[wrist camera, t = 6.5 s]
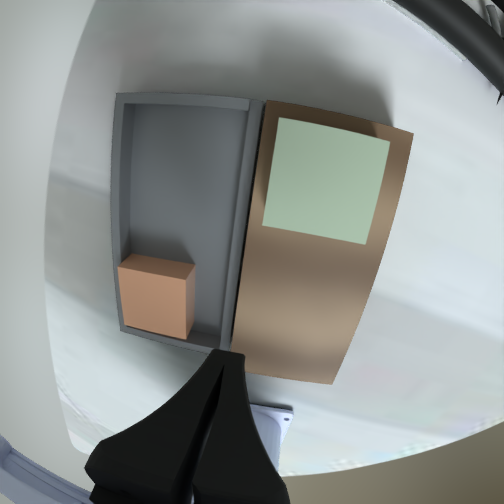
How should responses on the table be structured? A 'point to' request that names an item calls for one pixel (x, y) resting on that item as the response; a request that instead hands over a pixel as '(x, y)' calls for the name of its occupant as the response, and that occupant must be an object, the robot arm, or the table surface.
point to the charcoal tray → (186, 197)
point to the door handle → (462, 32)
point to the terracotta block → (157, 294)
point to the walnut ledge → (310, 266)
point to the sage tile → (324, 181)
